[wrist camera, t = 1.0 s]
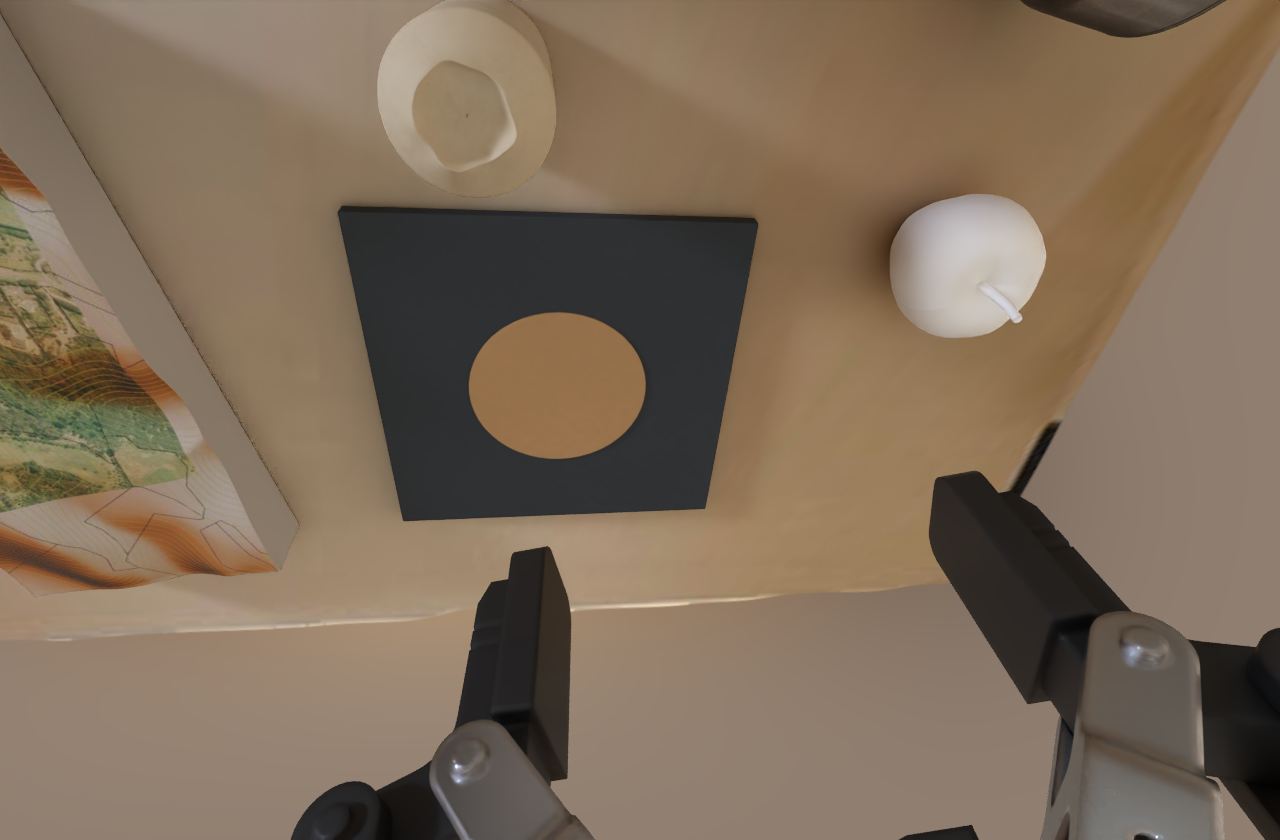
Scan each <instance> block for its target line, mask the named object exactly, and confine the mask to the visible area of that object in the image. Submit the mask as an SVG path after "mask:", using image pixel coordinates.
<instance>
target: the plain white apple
mask: <svg viewBox="0 0 1280 840" xmlns="http://www.w3.org/2000/svg"><path fill="white" fill-rule="evenodd" d="M1045 261H1046V250H1045V246H1044V241H1043V237H1042V235H1041V233H1040V231H1039V229H1038V227H1037V225H1036V223H1035V221H1034V219H1033V218H1032V217H1031V215H1030V214H1029V213H1028V212H1027V210H1026V209H1025V208H1023V207H1022V206H1021V205H1019V204H1017V203H1016V202H1014V201H1012V200H1010V199H1008V198H1004V197H1000V196H996V195H992V194H968V195H964V196H959V197H955V198H950V199H946V200H942V201H937V202H934V203H932V204H930V205H927V206H925V207H923V208H921V209H919V210H918V211H916V212H915V213H913V214H912V215H911V216H909V217H908V218H907V219H906V221H905V222H904V223H903V224H902V226H901V227H900V229H899V231H898V232H897V234H896V236H895V238H894V240H893V243H892V246H891V249H890V281H891V287H892V292H893V295H894V298H895V301H896V304H897V306H898V307H899V309H900V310H901V312H902V313H903V315H904V316H905V317H906V318H907V319H908V320H909V321H910V322H912V323H913V324H914V325H915V326H916V327H918V328H920V329H921V330H923V331H925V332H927V333H929V334H931V335H934V336H939V337H945V338H964V337H975V336H980V335H984V334H988V333H991V332H992V331H994V330H996V329H997V328H999V327H1001V326H1002V325H1003V324H1004V323H1005V322H1007V321H1008V320H1009V319H1010V318H1011V320H1012V321H1013V322H1014V323H1018V322H1020V321H1021V320H1022V316H1021V314H1020V313H1019V312H1018V311H1019V310H1020V309H1021V308H1022V307H1023V306H1024V305H1025V304H1026V302H1027V301H1028V300H1029V299H1030V297H1031V295H1032V294H1033V292H1034V290H1035V288H1036V286H1037V284H1038V281H1039V279H1040V277H1041V275H1042V273H1043V270H1044V266H1045Z"/></svg>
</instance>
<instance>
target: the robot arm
mask: <svg viewBox="0 0 1280 840" xmlns="http://www.w3.org/2000/svg"><path fill="white" fill-rule="evenodd" d="M929 539H930V544H931V548H932V551H933V554H934V556H935V558H936V560H937V562H938V563H939V565H940V567H941V568H942V570H943V571H944V573H945V575H946V576H947V578H948V579H949V581H950V582H951V584H952V586H953V587H954V589H955V590H956V592H957V593H958V595H959V596H960V598H961V600H962V601H963V603H964V604H965V606H966V608H967V609H968V611H969V612H970V614H971V615H972V617H973V619H974V620H975V622H976V624H977V625H978V627H979V628H980V630H981V631H982V633H983V634H984V636H985V638H986V639H987V641H988V643H989V644H990V645H991V647H992V649H993V650H994V652H995V653H996V655H997V657H998V658H999V660H1000V661H1001V663H1002V665H1003V666H1004V668H1005V669H1006V671H1007V672H1008V674H1009V676H1010V677H1011V679H1012V680H1013V682H1014V684H1015V685H1016V687H1017V688H1018V690H1019V692H1020V693H1021V695H1022V696H1023V698H1024V699H1025V701H1026V702H1027V704H1032V703H1038V702H1044V701H1050V700H1051V702H1052V703H1053V705H1054V706H1055V708H1056V709H1057V711H1058V712H1059V714H1060V716H1059V719H1058V723H1057V730H1056V738H1055V745H1054V753H1053V761H1052V769H1051V776H1050V784H1049V791H1048V799H1047V807H1046V814H1045V820H1044V825H1043V830H1042V834H1041V838H1040V840H1224V825H1223V808H1222V797H1221V792H1220V788H1219V786H1218V784H1217V782H1216V781H1214V780H1212V779H1209V778H1207V777H1206V776H1212V777H1218V778H1219V779H1220V780H1221V782H1222V783H1223V784H1224V786H1225V787H1226V788H1227V790H1228V791H1229V792H1230V794H1231V795H1232V796H1233V798H1234V799H1235V800H1236V802H1237V803H1238V804H1239V806H1240V807H1241V808H1242V810H1243V811H1244V812H1245V813H1246V815H1247V816H1248V818H1249V819H1250V820H1251V821H1252V823H1253V824H1254V826H1255V827H1256V828H1257V830H1258V831H1259V832H1260V834H1261V835H1262V836H1263V837H1264V839H1265V840H1280V628H1276V629H1273V630H1271V631H1268V632H1267V633H1266V634H1264V635H1263V637H1262V638H1261V640H1260V641H1259V643H1258V645H1257V646H1256V647H1249V646H1238V645H1229V644H1220V643H1210V642H1201V641H1194V640H1188V639H1186V638H1185V637H1184V636H1183V635H1182V634H1180V632H1179V631H1177V630H1176V629H1174V628H1173V627H1171V626H1170V625H1168V624H1166V623H1164V622H1162V621H1160V620H1158V619H1156V618H1153V617H1151V616H1148V615H1145V614H1141V613H1136V612H1132V611H1131V610H1130V609H1129V608H1128V607H1127V606H1126V605H1125V604H1124V603H1123V602H1122V601H1121V600H1120V598H1119V597H1118V596H1117V595H1116V594H1115V593H1114V592H1113V591H1112V589H1111V588H1110V587H1109V586H1108V585H1107V584H1106V583H1105V582H1104V581H1103V579H1102V578H1101V577H1100V576H1099V575H1098V574H1097V573H1096V572H1095V571H1094V570H1093V568H1092V567H1091V566H1090V565H1089V564H1088V563H1087V562H1086V561H1085V560H1084V559H1083V557H1082V556H1081V555H1080V554H1079V553H1078V552H1077V551H1076V550H1075V548H1074V547H1070V545H1069V542H1068V541H1067V540H1066V539H1065V538H1064V536H1063V535H1062V534H1061V533H1060V532H1059V531H1058V530H1055V528H1054V525H1053V524H1052V523H1051V522H1050V521H1049V520H1048V519H1047V518H1046V516H1045V515H1044V514H1043V513H1042V512H1041V511H1040V510H1039V509H1038V508H1037V506H1035V505H1033V504H1032V503H1030V502H1028V501H1027V500H1025V499H1023V498H1022V497H1020V496H1018V495H1017V494H1015V493H1013V492H1012V491H1007V492H1002V493H998V492H997V491H996V490H995V488H994V487H993V486H992V485H991V484H990V483H989V481H988V480H987V479H986V478H985V477H984V476H983V475H982V474H981V473H980V472H978V471H970V472H965V473H959V474H953V475H948V476H942V477H938V478H937V479H936V480H935V483H934V490H933V499H932V508H931V517H930V526H929ZM570 650H571V614H570V606H569V601H568V596H567V593H566V590H565V587H564V585H563V582H562V579H561V576H560V573H559V571H558V568H557V565H556V562H555V559H554V557H553V554H552V551H551V549H550V548H549V547H548V546H547V547H541V548H536V549H530V550H524V551H519V552H514V553H513V554H512V557H511V562H510V569H509V577H508V579H507V580H501V581H496V582H491V584H490V585H489V587H488V589H487V590H486V592H485V593H484V595H483V597H482V598H481V600H480V601H479V603H478V606H477V612H476V617H475V623H474V631H473V635H472V640H471V650H470V651H469V656H468V662H467V667H466V673H465V678H464V684H463V689H462V696H461V700H460V706H459V712H458V717H457V721H456V725H455V728H454V730H453V732H452V733H451V734H449V735H448V736H447V737H446V738H445V739H444V741H443V742H442V743H441V744H440V746H439V747H438V749H437V751H436V752H435V754H434V756H433V759H432V760H431V761H430V762H428V763H427V764H426V765H424V766H423V767H421V768H420V769H418V770H416V771H414V772H412V773H411V774H409V775H407V776H405V777H403V778H401V779H399V780H397V781H395V782H393V783H391V784H389V785H387V786H385V787H383V788H381V789H379V790H377V791H375V790H374V789H373V788H372V787H371V786H370V785H368V784H366V783H363V782H356V781H353V782H346V783H343V784H340V785H337V786H335V787H333V788H331V789H330V790H328V791H326V792H325V793H324V794H322V795H321V796H320V797H319V798H317V799H316V800H315V801H314V802H313V803H312V804H311V805H310V806H309V807H308V809H307V810H306V811H305V812H304V814H303V815H302V817H301V818H300V820H299V821H298V824H297V825H296V827H295V829H294V832H293V835H292V837H291V840H595V839H594V838H593V836H592V835H591V834H590V832H589V831H588V830H587V828H586V827H585V826H584V825H583V824H582V823H581V821H580V820H579V819H578V818H577V817H576V816H575V815H572V814H570V812H569V811H568V810H567V809H566V808H565V806H564V805H563V804H562V802H561V801H560V800H559V798H558V797H557V796H556V795H555V793H554V792H553V791H552V789H551V788H550V785H551V781H556V780H561V779H567V773H568V770H567V769H568V732H569V690H570ZM899 840H979V839H978V837H977V835H976V833H975V831H974V829H973V826H972V825H969V826H963V827H956V828H950V829H943V830H938V831H931V832H925V833H919V834H913V835H907V836H905V837H903V838H901V839H899Z"/></svg>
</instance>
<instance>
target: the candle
mask: <svg viewBox="0 0 1280 840" xmlns="http://www.w3.org/2000/svg"><path fill="white" fill-rule="evenodd" d="M377 97H378V106H379V111H380V116H381V119H382V122H383V125H384V128H385V131H386V133H387V135H388V137H389V139H390V141H391V143H392V144H393V146H394V148H395V149H396V151H397V152H398V154H399V155H400V156H401V158H402V159H403V160H404V161H405V162H406V164H407V165H408V166H409V167H410V168H411V169H412V170H413V171H414V172H416V173H417V174H418V175H419V176H420V177H422V178H423V179H424V180H426V181H427V182H429V183H431V184H432V185H434V186H436V187H438V188H440V189H442V190H444V191H447V192H450V193H452V194H456V195H460V196H464V197H473V198H485V197H492V196H498V195H501V194H504V193H507V192H509V191H512V190H514V189H516V188H517V187H519V186H521V185H522V184H524V183H525V182H526V181H527V180H529V179H530V178H531V177H532V176H533V175H534V174H535V173H536V172H537V170H538V169H539V168H540V167H541V165H542V164H543V162H544V161H545V159H546V157H547V155H548V153H549V151H550V148H551V145H552V142H553V139H554V134H555V129H556V101H555V92H554V84H553V76H552V68H551V63H550V58H549V54H548V51H547V47H546V45H545V42H544V40H543V38H542V36H541V34H540V32H539V30H538V29H537V27H536V26H535V24H534V23H533V22H532V20H531V19H530V18H529V17H528V16H527V15H526V14H525V13H524V12H523V11H522V10H521V9H520V8H518V7H517V6H516V5H514V4H513V3H511V2H510V1H508V0H444V1H442V2H441V3H439V4H437V5H436V6H434V7H432V8H430V9H429V10H427V11H425V12H423V13H422V14H420V15H418V16H417V17H415V18H414V19H412V20H411V21H409V22H408V23H407V24H405V25H404V26H403V27H402V28H401V29H400V30H399V31H398V32H397V33H396V35H395V36H394V37H393V39H392V40H391V42H390V43H389V45H388V47H387V49H386V51H385V53H384V55H383V58H382V61H381V64H380V68H379V74H378V81H377Z"/></svg>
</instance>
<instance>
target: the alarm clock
mask: <svg viewBox="0 0 1280 840" xmlns="http://www.w3.org/2000/svg"><path fill="white" fill-rule="evenodd" d="M1021 1H1022V2H1023V3H1024V4H1025V5H1027V6H1028V7H1030V8H1032V9H1034V10H1037V11H1039V12H1042V13H1045V14H1048V15H1051V16H1054V17H1057V18H1060V19H1063V20H1066V21H1069V22H1072V23H1075V24H1078V25H1081V26H1084V27H1087V28H1090V29H1093V30H1097V31H1099V32H1102V33H1105V34H1108V35H1110V36H1117V37H1127V38H1131V37H1142V36H1147V35H1152V34H1156V33H1160V32H1163V31H1166V30H1168V29H1171V28H1174V27H1177V26H1179V25H1181V24H1184V23H1186V22H1188V21H1190V20H1192V19H1194V18H1196V17H1198V16H1200V15H1202V14H1204V13H1205V12H1207V11H1209V10H1211V9H1213V8H1214V7H1216V6H1217V5H1219V4H1221V3H1222V2H1224V1H1226V0H1021Z"/></svg>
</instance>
